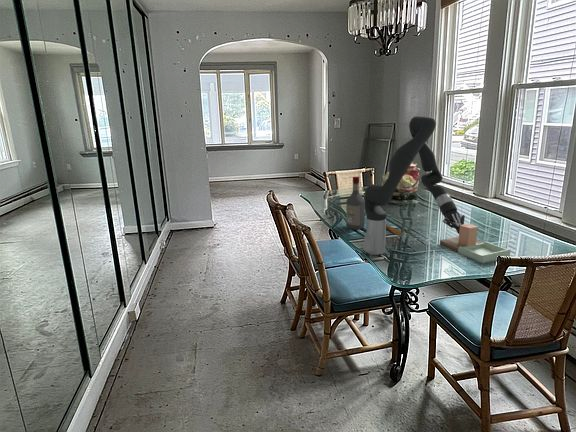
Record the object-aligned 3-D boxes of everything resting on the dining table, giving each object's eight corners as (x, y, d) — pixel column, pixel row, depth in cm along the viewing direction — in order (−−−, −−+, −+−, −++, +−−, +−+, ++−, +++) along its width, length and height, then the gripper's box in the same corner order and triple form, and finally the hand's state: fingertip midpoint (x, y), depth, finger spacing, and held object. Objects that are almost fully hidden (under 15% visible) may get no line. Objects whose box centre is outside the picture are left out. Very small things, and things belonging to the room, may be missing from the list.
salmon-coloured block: (467, 246, 182) (469, 228, 180) (458, 242, 188) (459, 225, 185) (475, 244, 184) (477, 226, 181) (466, 240, 189) (467, 223, 187)
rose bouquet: (377, 198, 291) (378, 159, 282) (413, 195, 294) (415, 157, 285) (389, 206, 266) (391, 163, 258) (429, 203, 269) (432, 161, 261)
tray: (482, 263, 168) (483, 255, 167) (457, 252, 181) (458, 244, 180) (509, 257, 173) (510, 249, 172) (483, 247, 187) (484, 239, 185)
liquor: (357, 230, 218) (358, 179, 210) (344, 227, 224) (344, 177, 216) (366, 226, 224) (367, 176, 216) (353, 224, 230) (353, 175, 222)
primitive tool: (404, 234, 210) (404, 228, 209) (396, 236, 208) (396, 230, 207) (382, 225, 227) (382, 219, 226) (374, 226, 225) (375, 221, 224)
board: (457, 252, 181) (458, 247, 181) (439, 244, 192) (440, 240, 191) (483, 247, 187) (483, 242, 186) (464, 240, 197) (464, 235, 197)
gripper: (439, 202, 190) (456, 232, 182) (460, 199, 195) (477, 228, 187) (431, 209, 196) (447, 239, 189) (451, 206, 201) (467, 235, 193)
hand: (462, 233), depth 188 cm, fingers closed
